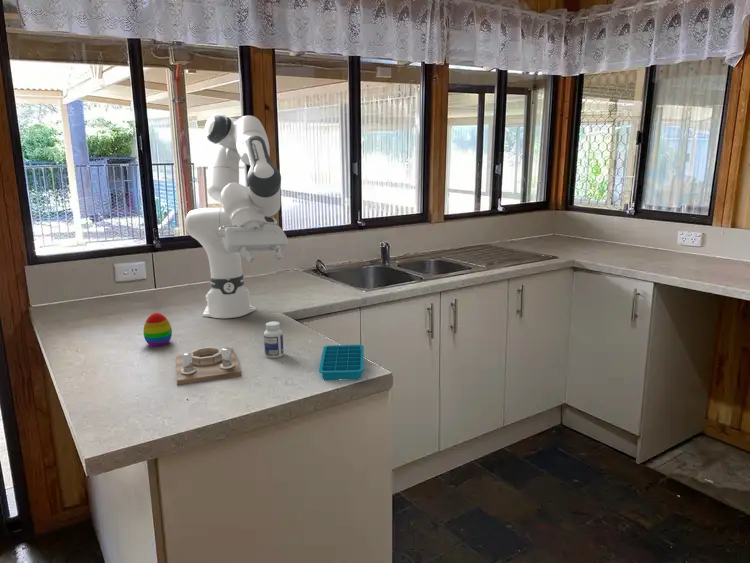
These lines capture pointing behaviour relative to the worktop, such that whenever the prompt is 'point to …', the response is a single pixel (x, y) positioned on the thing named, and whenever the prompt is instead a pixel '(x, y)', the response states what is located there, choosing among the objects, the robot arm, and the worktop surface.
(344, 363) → the ice cube tray
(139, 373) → the worktop surface
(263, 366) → the worktop surface
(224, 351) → the steel pins
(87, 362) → the worktop surface
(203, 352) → the board
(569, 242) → the worktop surface
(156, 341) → the decorative egg
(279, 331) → the pill bottle
